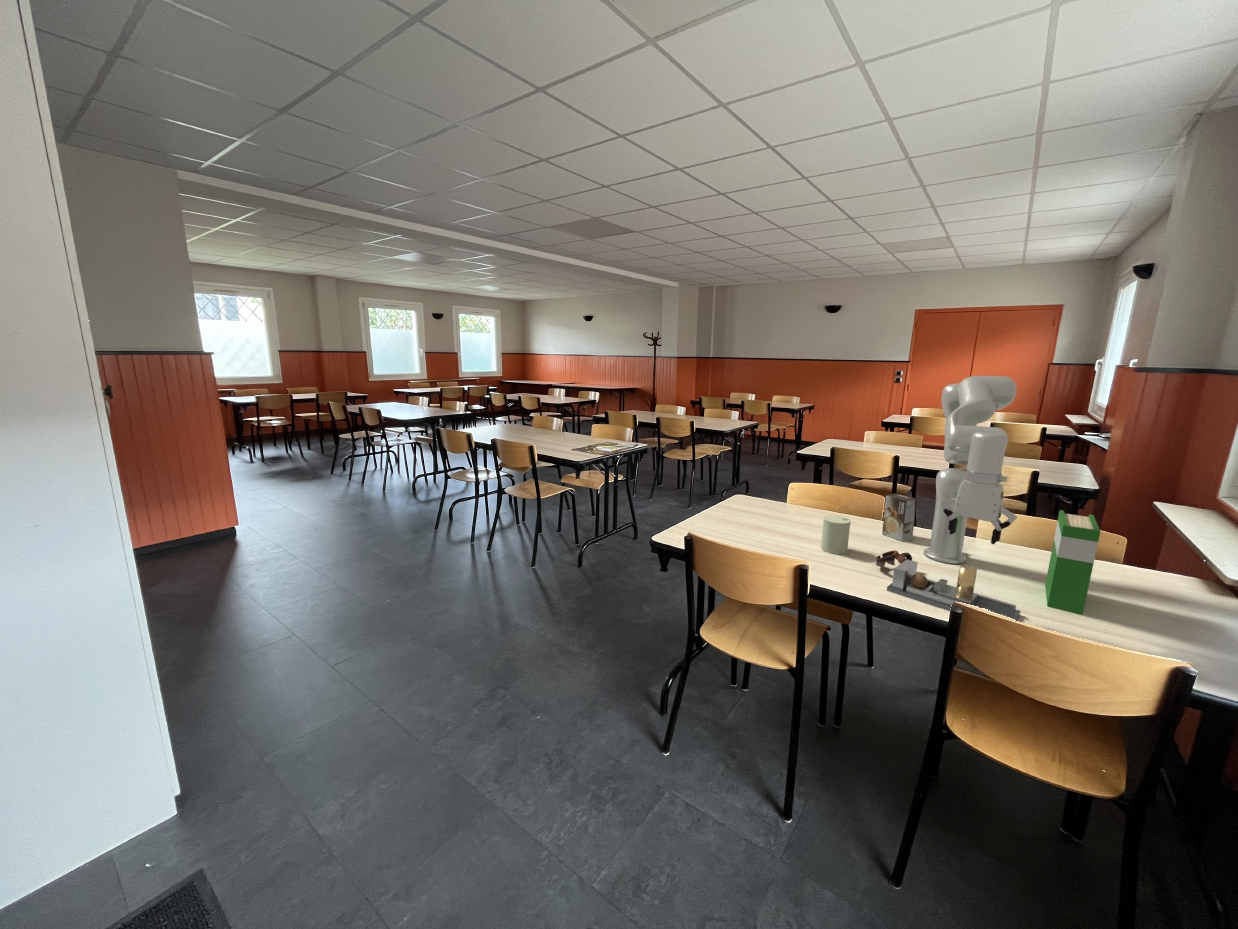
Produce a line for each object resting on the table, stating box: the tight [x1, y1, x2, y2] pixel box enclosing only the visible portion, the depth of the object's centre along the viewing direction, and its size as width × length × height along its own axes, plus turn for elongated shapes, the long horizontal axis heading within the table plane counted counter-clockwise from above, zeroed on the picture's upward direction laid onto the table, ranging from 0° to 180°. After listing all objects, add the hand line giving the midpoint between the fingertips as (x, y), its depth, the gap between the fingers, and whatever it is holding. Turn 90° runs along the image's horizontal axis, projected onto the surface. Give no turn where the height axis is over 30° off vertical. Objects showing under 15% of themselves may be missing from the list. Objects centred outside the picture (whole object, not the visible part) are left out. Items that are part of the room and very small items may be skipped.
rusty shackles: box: [874, 549, 913, 569], centre depth 165 cm, size 12×10×8 cm
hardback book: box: [1044, 509, 1102, 615], centre depth 145 cm, size 18×7×24 cm, turn 142°
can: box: [820, 514, 852, 555], centre depth 183 cm, size 9×9×12 cm
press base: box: [886, 559, 1021, 621], centre depth 144 cm, size 12×30×7 cm, turn 41°
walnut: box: [911, 573, 928, 589], centre depth 150 cm, size 4×4×4 cm
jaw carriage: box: [933, 564, 979, 605], centre depth 143 cm, size 7×9×10 cm
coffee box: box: [881, 493, 918, 542], centre depth 195 cm, size 9×6×16 cm
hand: (972, 537), depth 139 cm, fingers open, 9 cm apart
